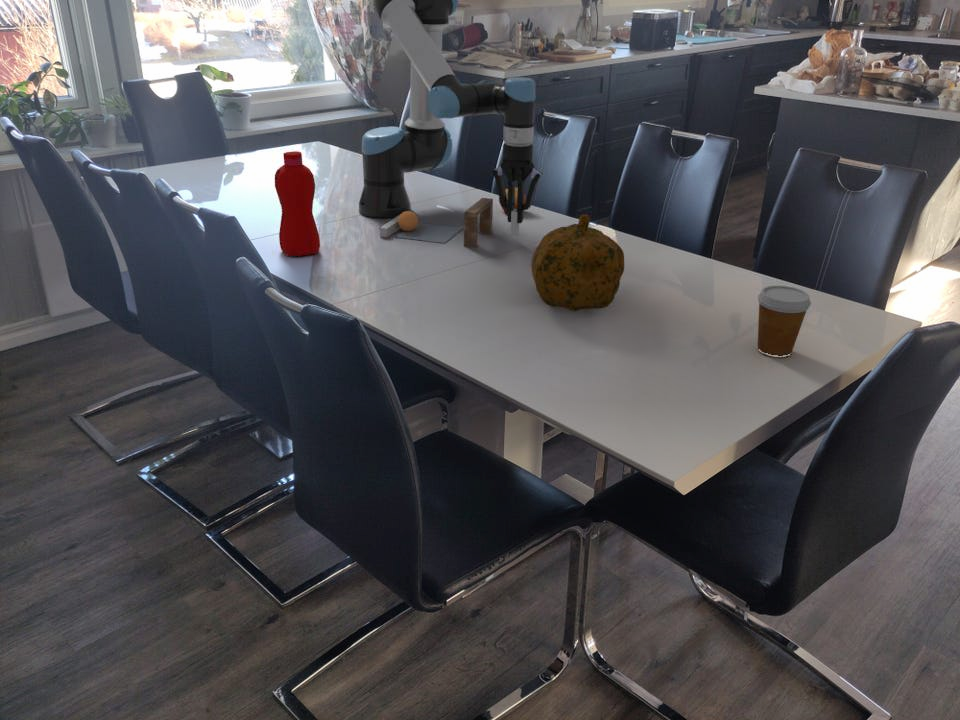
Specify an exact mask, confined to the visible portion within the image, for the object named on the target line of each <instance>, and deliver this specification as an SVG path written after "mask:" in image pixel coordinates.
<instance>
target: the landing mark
mask: <svg viewBox="0 0 960 720" xmlns="http://www.w3.org/2000/svg"><path fill="white" fill-rule="evenodd" d="M462 230H464V227H456V226H450V225H449V226H447V225H439V224H429V223H422V222H418V226H417V227H416V229H415V230H413V231H410V232H407V231H404V230H402V232H400V233H399V234H398V235H396V236H395V237H397V238H398V239H406V240H411V241H422V242H430V243H437V244H446V243H447V242H448V241H449V240H451V239H453V237H454V236H456V235H457V234H459V233H460V231H462Z"/></svg>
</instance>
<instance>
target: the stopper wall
mask: <svg viewBox="0 0 960 720" xmlns="http://www.w3.org/2000/svg"><path fill="white" fill-rule="evenodd" d="M400 215H401V214H400ZM400 215H399V216H400ZM399 216H397V217H393V219H391V220H390V221H388V222H387V223H385V224H383V225H382V226H380V227H379V237H380V236H381V237H380V238H385V237H387V238H388V236H389V237H390V236H392V235H393V234H394V232H395V231H396V232H397V231H399V230H400V229H401V228H400V226H399V224H398V218H399ZM398 229H399V230H398ZM396 232H395V233H396ZM391 234H392V235H391Z"/></svg>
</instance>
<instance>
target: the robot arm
mask: <svg viewBox="0 0 960 720" xmlns="http://www.w3.org/2000/svg"><path fill="white" fill-rule="evenodd" d="M373 3H374V9H375V12H376V14H377V16H378V18H379V20H380V22H381V23H382V24H383V26H384V27H386V28H388V29H390V31H392V33H393V35H394V36H395V38H396V40H397V41H398V43H399V44H400V46H401V48H402V49H403V51H404V52H405V54H406V56H407V57H408V59H409V61H410V80H409V81H410V82H409V83H410V87H409V91H410V93H409V117H408V118H407V119H406V120H405V121H404V131H403V129H402V128H401V127H399V126H383V127H382V126H381V127H377V128H373V129H370V130H368V131H366V132H365V133H364V134H363V136H362V140H361V152H362V153H361V154H362V171H363V173H362V174H363V187H362V190H361V195H360V198H359V201H358V212H359V214H361V215H363V216H365V217H369V218H376V219H377V218H379V219H382V218H383V219H384V218H385V219H389V218H390V219H391V218H396V217H397V216H399V215H400V214H402V213H403V212H405V211H411V212H412V207H411V205H412V204H411V200H410V198H409V195H408V192H407V189H406V187H405V174H406V173H407V174H408V173H415V172H419V171H420V172H421V171H430V170H431V171H432V170H435V169H438V168H442V167H443V166H445V165H446V164H447V163H448V162H449V160H450V159H451V155H452V151H453V139H452V138H451V136H452V135H451V134H450V131H449V130H448V129H447V128H445V122H443V120H442V119H454V118H462V117H469V116H479V115H480V116H481V115H482V116H483V115H489V114H490V115H491V114H492V115H493V114H495V115H500V116H503V131H502V133H503V136H502V137H503V139H502V141H503V142H504V143H503V145H502V161H501V163H500V166H498V167H496V168H494V169H493V170H492V171H491V173H492V174H491V175H493V177H494V179H495V183H496V189H497V195H498V200H499V199H500V203H499V205H500V204H501V205H500V207H501V208H502V207H504V208H506V209H507V210H508V213H507V222H508V223H510V236H511V237H512V236H513V237H517V236H518V235H519V234H520V224H522V223H523V221H524V211H527V210H529V209H530V208H531V206H532V203H533V200H534V196H535V193H536V189H537V187H538V183H539V180H540V179H541V178H542V176H543V172H542V171H538V170H537V169H536V168H535V165H534V162H533V156H534V155H533V154H534V153H533V151H534V146H533V144H532V143H533V142H534V134H535V132H534V131H535V130H534V128H535V111H536V98H537V96H536V82H535V80H534V79H533V78H529V77H522V76H517V77H515V76H513V77H508V78H506V79H505V81H504V83H503V82H499V81H495V80H485V79H484V80H480V81H479V82H478V83H469V84H468V83H467V84H466V83H465V84H464V83H463V84H462V83H461V82H460V80H459V79H458V77H457V76H456V74H455V72H454V71H453V69H452V68H451V67H450V65H449V64H448V62H447V60H446V58H445V57H444V55H443V30H444V29H445V28H446V27H447V26H448V25H449V19H450V18H449V17H450V16H452V15H453V14H455V12H456V11H457V8H458V5H459V0H373ZM503 175H505V177H506V179H507V189H508V201H507V196H506V191H505V190H506V185H505V181H504V177H503ZM530 175H531V177H530V178H531V182H530V184H529V188H528V192H527V194H526V193H525V190H526V182H527V181H526V180H527V178H528V177H529V176H530ZM516 181H517V188H518V196H517V209H514V207H515V206H514V205H515V188H516ZM525 195H526V201H525V204H524V196H525Z"/></svg>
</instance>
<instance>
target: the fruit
mask: <svg viewBox="0 0 960 720" xmlns="http://www.w3.org/2000/svg"><path fill="white" fill-rule="evenodd" d="M505 191H506V196H507V201H508V188H505ZM517 196H518V187H515V205H514V206H515V207H514V209H517ZM526 198H527V194H525V196H524V204H525V201H526ZM498 202H499V205H500V206H501V204H500V199H499V198H498ZM501 209H502V210H503V212H504V213H505V214H508V210H507V209H506V208H504V207H501Z"/></svg>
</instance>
